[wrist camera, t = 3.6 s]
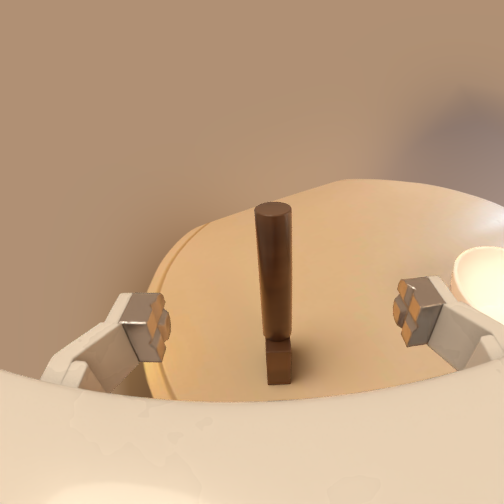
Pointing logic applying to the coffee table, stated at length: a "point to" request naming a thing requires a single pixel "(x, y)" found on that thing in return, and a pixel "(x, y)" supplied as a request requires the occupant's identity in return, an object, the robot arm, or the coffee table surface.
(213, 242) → the coffee table surface
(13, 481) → the robot arm
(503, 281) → the bowl
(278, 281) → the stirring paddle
